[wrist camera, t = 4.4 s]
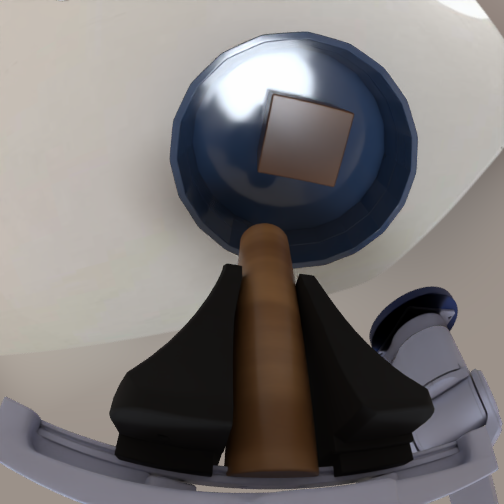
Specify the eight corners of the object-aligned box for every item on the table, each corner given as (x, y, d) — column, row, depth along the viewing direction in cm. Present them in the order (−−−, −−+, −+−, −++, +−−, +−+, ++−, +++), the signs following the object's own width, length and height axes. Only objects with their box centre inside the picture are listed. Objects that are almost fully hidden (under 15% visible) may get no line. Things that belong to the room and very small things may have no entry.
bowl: (353, 243, 22) (371, 280, 18) (181, 214, 21) (165, 249, 17) (405, 78, 15) (442, 82, 11) (205, 29, 14) (189, 15, 10)
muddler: (282, 266, 16) (302, 486, 7) (236, 259, 15) (220, 485, 6) (293, 226, 14) (334, 468, 5) (243, 219, 14) (228, 468, 5)
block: (319, 165, 18) (334, 188, 14) (256, 152, 17) (256, 172, 14) (335, 105, 16) (355, 113, 12) (269, 90, 15) (272, 93, 12)
